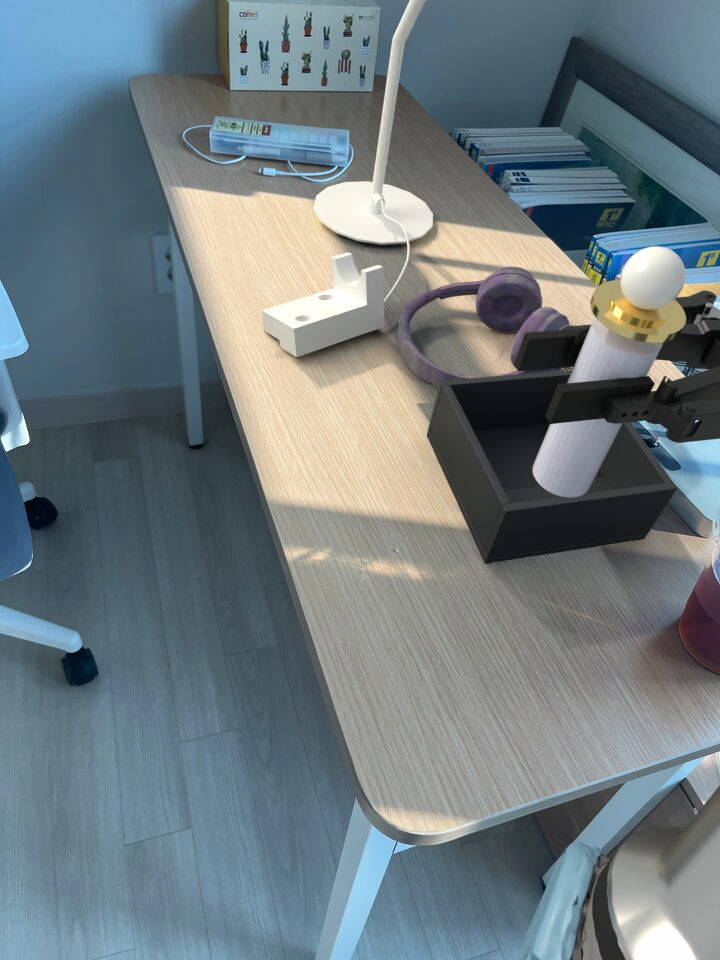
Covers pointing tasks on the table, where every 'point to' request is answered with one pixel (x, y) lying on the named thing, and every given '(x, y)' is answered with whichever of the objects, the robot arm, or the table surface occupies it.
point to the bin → (509, 472)
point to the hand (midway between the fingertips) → (538, 377)
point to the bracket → (330, 310)
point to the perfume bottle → (614, 361)
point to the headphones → (486, 316)
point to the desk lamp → (379, 178)
